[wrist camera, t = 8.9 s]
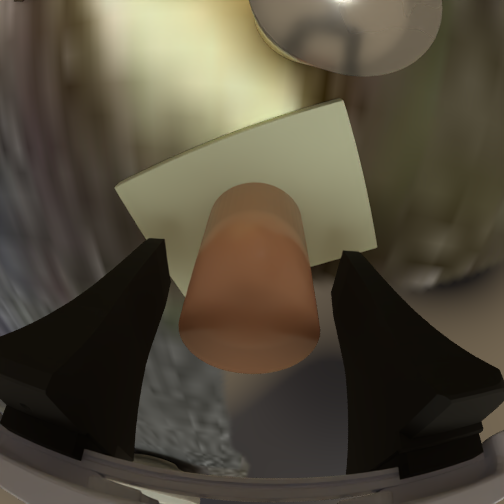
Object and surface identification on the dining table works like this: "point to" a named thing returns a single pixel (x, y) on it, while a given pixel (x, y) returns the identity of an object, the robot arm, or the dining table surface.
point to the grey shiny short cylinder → (349, 32)
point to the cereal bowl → (169, 500)
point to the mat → (260, 171)
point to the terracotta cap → (251, 285)
